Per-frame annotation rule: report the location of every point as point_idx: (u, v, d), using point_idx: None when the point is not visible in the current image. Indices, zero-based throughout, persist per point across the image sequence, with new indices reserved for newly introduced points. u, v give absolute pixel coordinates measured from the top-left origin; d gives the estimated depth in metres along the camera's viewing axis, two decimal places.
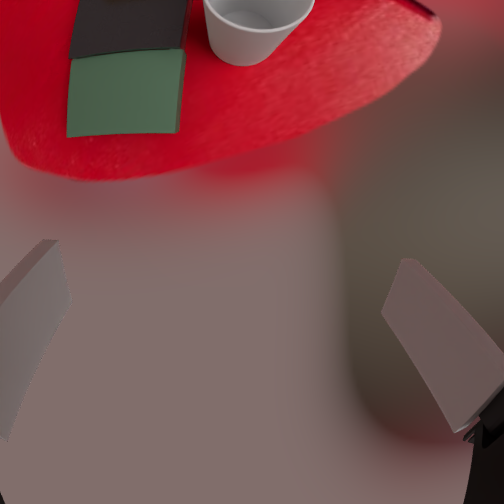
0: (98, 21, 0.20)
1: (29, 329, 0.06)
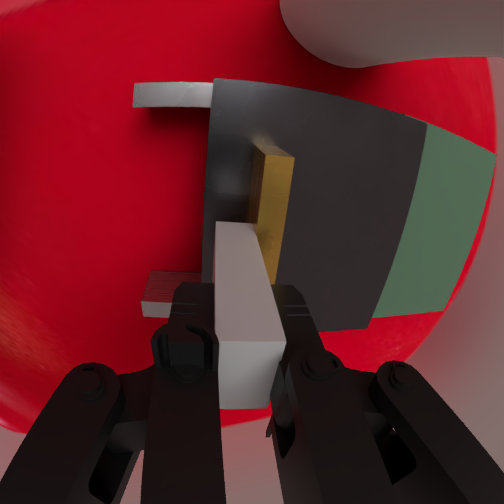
0: (322, 288, 0.16)
1: None
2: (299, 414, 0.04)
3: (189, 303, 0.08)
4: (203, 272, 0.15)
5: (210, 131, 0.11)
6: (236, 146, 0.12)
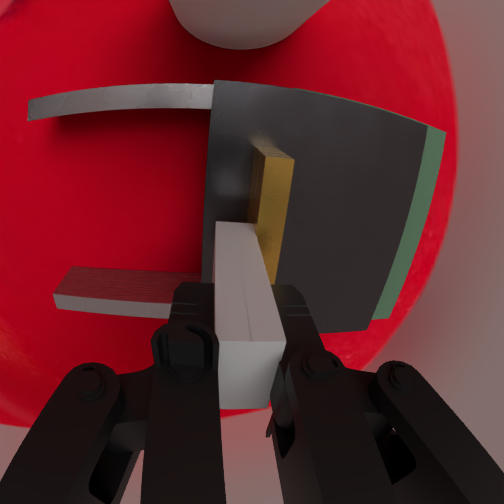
0: (322, 290, 0.16)
1: None
2: (298, 413, 0.04)
3: (189, 303, 0.08)
4: (203, 273, 0.15)
5: (210, 133, 0.11)
6: (236, 148, 0.12)
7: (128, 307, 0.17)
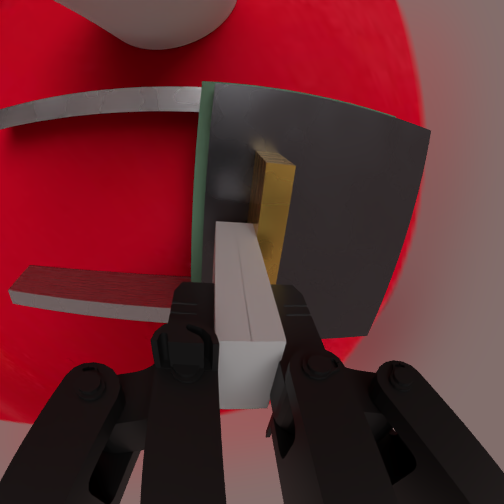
0: (322, 296, 0.16)
1: None
2: (298, 413, 0.04)
3: (189, 303, 0.08)
4: (203, 278, 0.14)
5: (211, 137, 0.11)
6: (237, 153, 0.12)
7: (68, 304, 0.16)
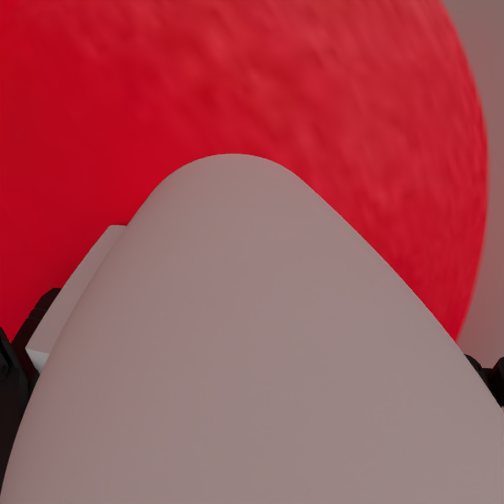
0: None
1: None
2: None
3: (46, 309, 0.06)
4: None
5: None
6: None
7: None
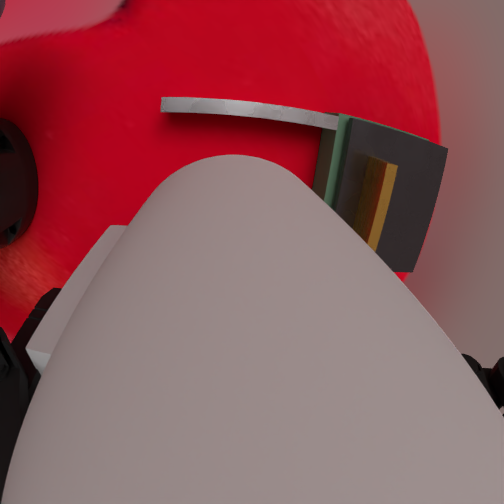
0: (391, 240, 0.25)
1: None
2: None
3: (46, 309, 0.06)
4: None
5: (349, 146, 0.21)
6: (360, 156, 0.21)
7: None
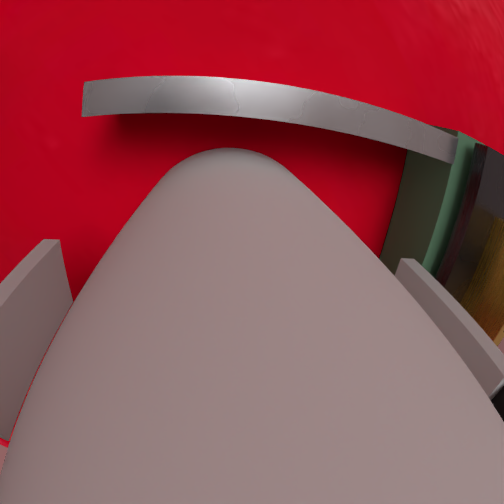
0: None
1: (30, 328, 0.06)
2: None
3: None
4: None
5: (476, 201, 0.09)
6: (486, 218, 0.09)
7: None
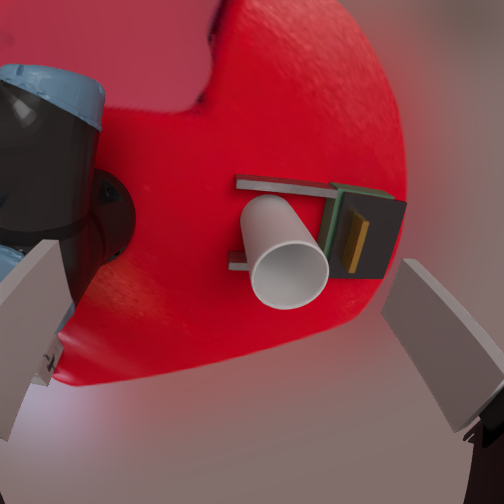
0: (368, 260, 0.43)
1: (29, 329, 0.06)
2: None
3: None
4: (332, 253, 0.42)
5: (342, 209, 0.38)
6: (349, 213, 0.39)
7: None
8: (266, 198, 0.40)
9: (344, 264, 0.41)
